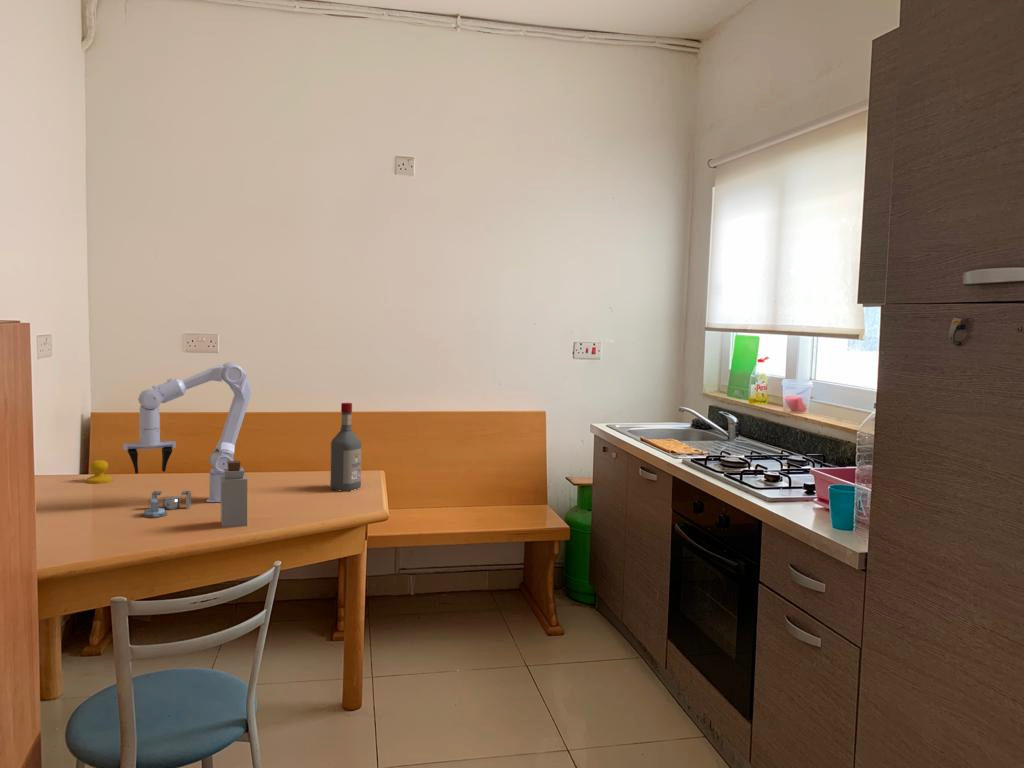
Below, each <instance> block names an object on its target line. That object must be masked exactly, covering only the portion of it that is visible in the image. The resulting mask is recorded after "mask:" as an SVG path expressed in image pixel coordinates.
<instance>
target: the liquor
mask: <svg viewBox="0 0 1024 768" xmlns="http://www.w3.org/2000/svg"><path fill="white" fill-rule="evenodd" d="M340 404H341V406H340V407H341V408H340V410H341V411H340V412H341V426H340V430H339V432H338V433H337V434H336V435H335V436H334V437H333V438H332V439H331V442H330V476H329V479H330V481H329V483H330V484H329V485H330V488H331V490H332V489H335V490H334V491H336V490H341V491H340V492H342V491H348V492H352V491H351V490H354V489H357V490H359V489H358V488H361V486H362V482H361V481H362V442H361V439H360V438H359V437H358V436H357V435H356V434H355V432H354V431H353V428H352V413H353V403H352V402H341V403H340ZM354 491H355V490H354Z"/></svg>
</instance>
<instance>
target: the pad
mask: <svg viewBox="0 0 1024 768" xmlns="http://www.w3.org/2000/svg"><path fill="white" fill-rule="evenodd" d="M168 514H169V513H168V511H166V510H165V514H163V515H159V517H158V518H161V517H166V516H168ZM141 517H143V518H147V519H150V518H151V519H152V518H153V519H155V518H157V517H153V516H146V515H144V512H143V513H141Z"/></svg>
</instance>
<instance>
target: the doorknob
mask: <svg viewBox="0 0 1024 768" xmlns="http://www.w3.org/2000/svg"><path fill="white" fill-rule="evenodd" d="M89 468H90V470H91V471H92V472H93V474H94V475H93V476H90V477H87V478H86V483H87V484H91V485H92V484H96V485H97V484H106V483H110V482H113V476H110V475H105V473H106V472H107V470H108V468H109V463H108V462H107V461H106V460H104V459H97V460H94V461H92V463H91V464H90V467H89Z"/></svg>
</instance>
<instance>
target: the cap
mask: <svg viewBox="0 0 1024 768" xmlns="http://www.w3.org/2000/svg"><path fill="white" fill-rule="evenodd" d="M149 500H150V505H149V506H150V507H149V508H147V509H145V510H144V511H143V513H144V515H146V516H153V517H156V518H160V517H159V515H163V514H165V511H166V510H165V509H163V507H159V506H160V505H159V501H158V498H157V499H156V498H155V499H152V498H150V499H149Z"/></svg>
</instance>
